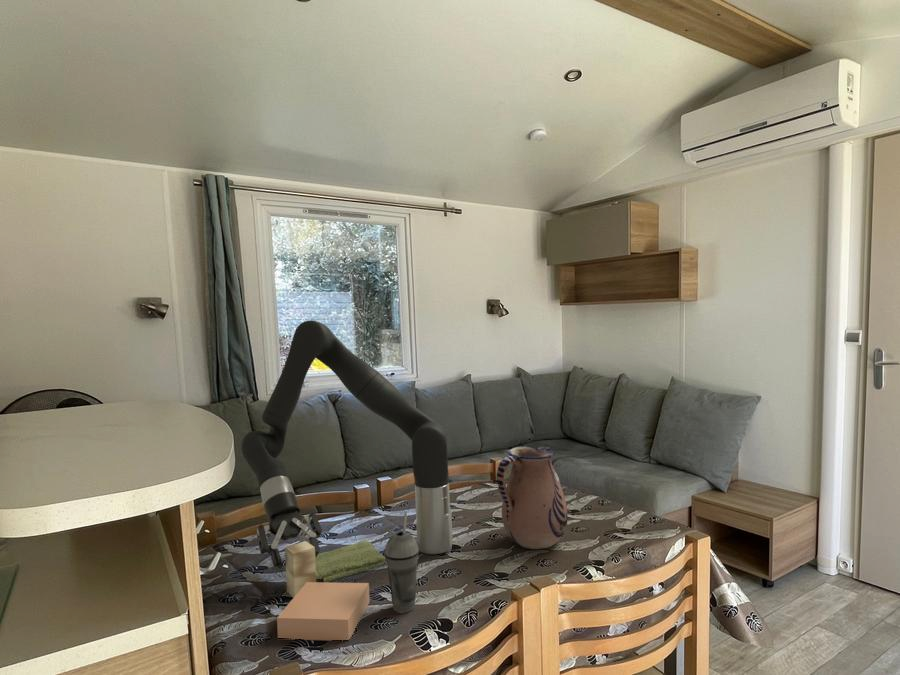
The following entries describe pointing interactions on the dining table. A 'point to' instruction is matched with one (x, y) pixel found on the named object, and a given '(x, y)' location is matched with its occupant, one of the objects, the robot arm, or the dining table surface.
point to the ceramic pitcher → (532, 498)
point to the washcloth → (347, 561)
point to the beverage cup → (402, 569)
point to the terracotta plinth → (324, 611)
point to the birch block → (299, 566)
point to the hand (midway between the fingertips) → (298, 560)
